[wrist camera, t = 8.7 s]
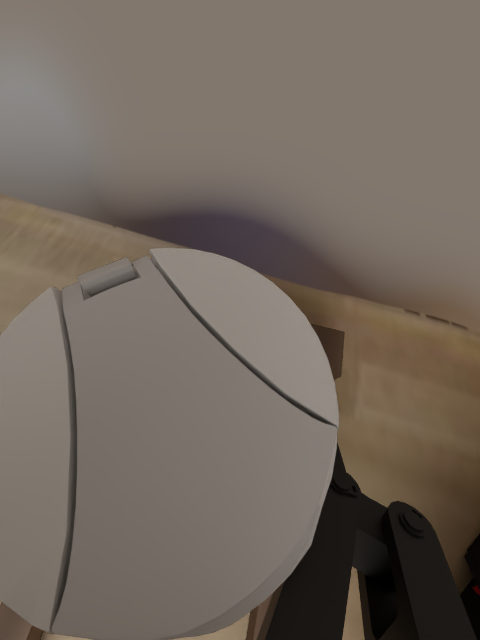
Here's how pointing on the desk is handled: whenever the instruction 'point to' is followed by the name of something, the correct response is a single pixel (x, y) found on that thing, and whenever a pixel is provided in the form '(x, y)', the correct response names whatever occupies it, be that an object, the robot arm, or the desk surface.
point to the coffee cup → (159, 448)
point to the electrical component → (473, 587)
